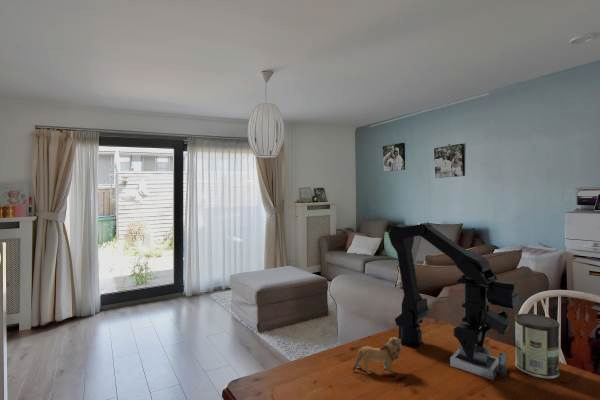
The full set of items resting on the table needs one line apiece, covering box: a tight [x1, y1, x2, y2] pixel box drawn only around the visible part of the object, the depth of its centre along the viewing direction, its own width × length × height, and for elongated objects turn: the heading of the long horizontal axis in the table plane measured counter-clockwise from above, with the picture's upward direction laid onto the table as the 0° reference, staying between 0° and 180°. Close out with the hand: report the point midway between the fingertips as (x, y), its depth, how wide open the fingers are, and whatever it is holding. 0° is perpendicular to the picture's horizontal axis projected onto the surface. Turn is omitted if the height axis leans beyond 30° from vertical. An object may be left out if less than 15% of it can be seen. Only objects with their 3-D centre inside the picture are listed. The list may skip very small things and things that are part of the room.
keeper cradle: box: [449, 347, 507, 381], centre depth 95 cm, size 13×9×6 cm
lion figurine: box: [351, 336, 403, 375], centre depth 95 cm, size 15×5×9 cm, turn 96°
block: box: [459, 344, 491, 368], centre depth 96 cm, size 7×4×5 cm, turn 47°
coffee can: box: [514, 313, 560, 380], centre depth 94 cm, size 10×10×14 cm
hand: (475, 354), depth 96 cm, fingers open, 9 cm apart
